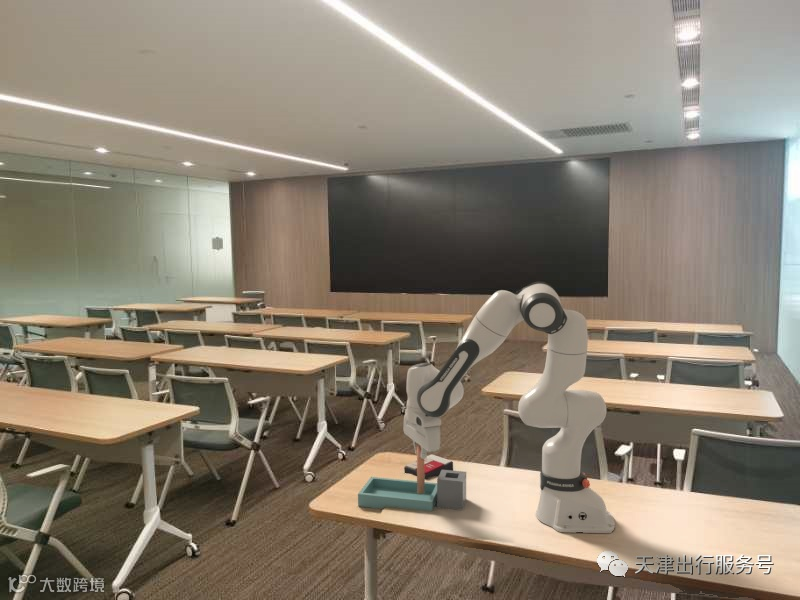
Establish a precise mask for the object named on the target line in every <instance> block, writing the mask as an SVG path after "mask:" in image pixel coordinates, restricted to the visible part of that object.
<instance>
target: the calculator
mask: <svg viewBox="0 0 800 600" xmlns="http://www.w3.org/2000/svg"><path fill="white" fill-rule="evenodd" d="M403 469H404V474H405V473H406V474H409V475H410V474H411V475H414V476H416V477H417V460H415V461H412V462H410V463H408V464H406V465H405V466H404V468H403ZM441 470H452V471H454V462H453V461H452V460H449V459H447V458H444V457H441V456H439V455H435V454H429V455H427V458H426V459H424V471H425V480H428V479H429V478H433V477H438V476H439V474H440V472H441Z"/></svg>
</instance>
